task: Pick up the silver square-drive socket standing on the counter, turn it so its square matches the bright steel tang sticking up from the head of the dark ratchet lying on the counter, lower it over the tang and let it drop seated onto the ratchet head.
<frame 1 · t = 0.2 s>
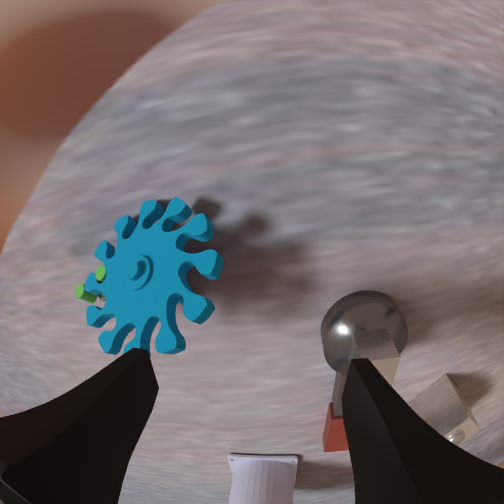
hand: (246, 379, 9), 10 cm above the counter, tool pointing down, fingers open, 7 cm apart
ratchet: (360, 326, 20), on the counter
socket: (435, 396, 22), on the counter
gear: (160, 254, 20), on the counter
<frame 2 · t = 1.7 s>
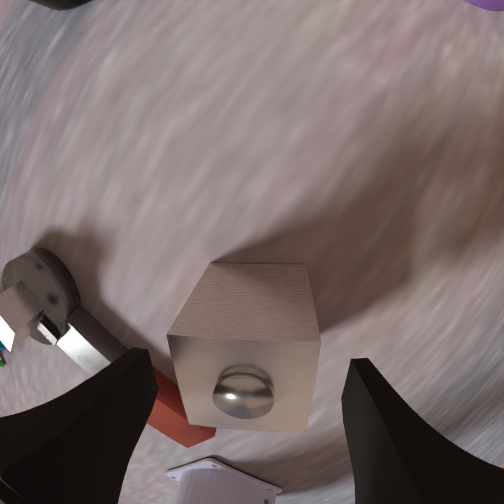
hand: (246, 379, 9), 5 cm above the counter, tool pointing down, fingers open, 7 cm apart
ratchet: (48, 290, 16), on the counter
socket: (257, 306, 15), on the counter
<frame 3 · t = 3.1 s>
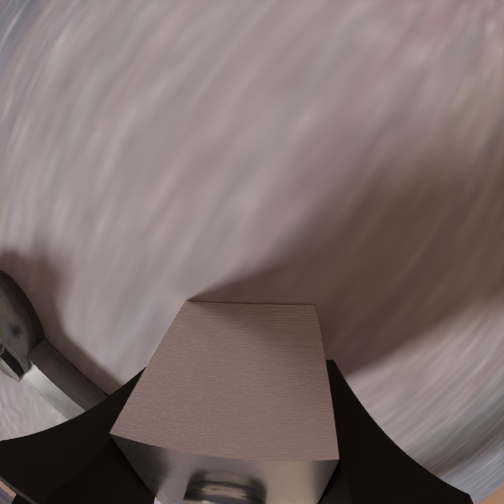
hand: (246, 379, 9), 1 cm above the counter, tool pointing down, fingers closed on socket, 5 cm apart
ratchet: (11, 316, 12), on the counter
socket: (250, 354, 11), on the counter, touching gripper
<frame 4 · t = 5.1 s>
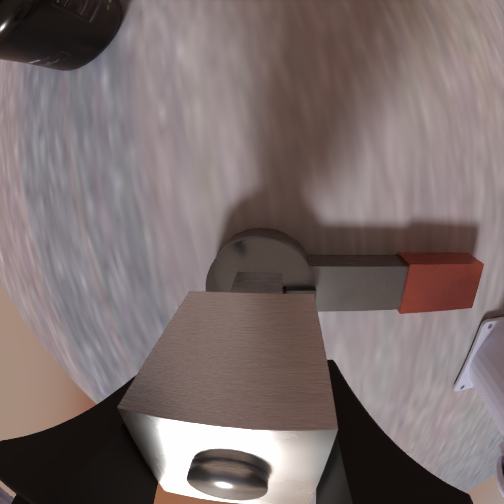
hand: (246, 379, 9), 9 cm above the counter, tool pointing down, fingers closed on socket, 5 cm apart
ratchet: (262, 275, 18), on the counter
socket: (251, 343, 11), point 7 cm above the counter, touching gripper
supplement bottle: (87, 31, 13), on the counter
when the fingers open (5 cm above the counter, at t = 7.6 s): socket stays where it is, resting on ratchet.
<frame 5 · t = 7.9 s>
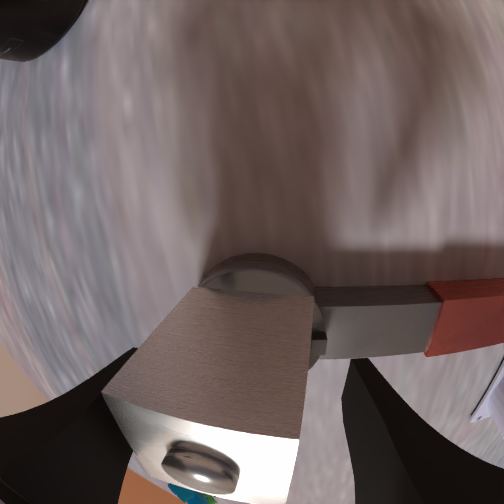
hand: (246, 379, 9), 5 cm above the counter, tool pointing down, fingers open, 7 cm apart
ratchet: (257, 312, 14), on the counter
socket: (252, 341, 11), point 2 cm above the counter, tilted 7°, touching ratchet
gear: (196, 447, 19), on the counter
supplement bottle: (51, 15, 9), on the counter
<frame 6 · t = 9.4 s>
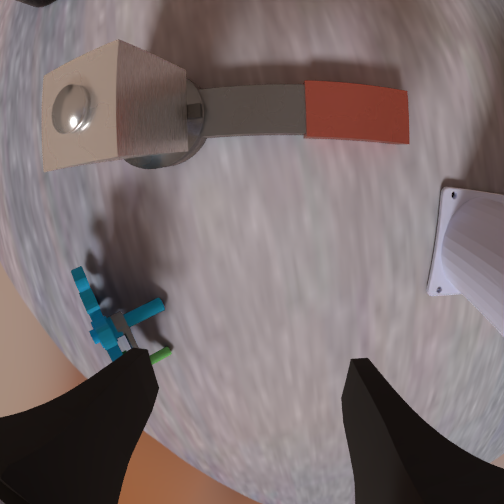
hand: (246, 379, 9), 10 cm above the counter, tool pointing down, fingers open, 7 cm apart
ratchet: (166, 121, 16), on the counter
socket: (150, 116, 14), point 2 cm above the counter, tilted 7°, touching ratchet
gear: (130, 310, 22), on the counter
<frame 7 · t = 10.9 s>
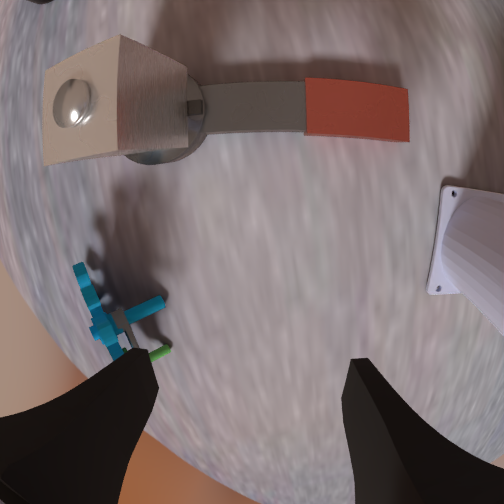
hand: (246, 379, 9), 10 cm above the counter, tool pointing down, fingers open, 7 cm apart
ratchet: (166, 117, 16), on the counter
socket: (150, 111, 14), point 2 cm above the counter, tilted 7°, touching ratchet
gear: (130, 307, 22), on the counter
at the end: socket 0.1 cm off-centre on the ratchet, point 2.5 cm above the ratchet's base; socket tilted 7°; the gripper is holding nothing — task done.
